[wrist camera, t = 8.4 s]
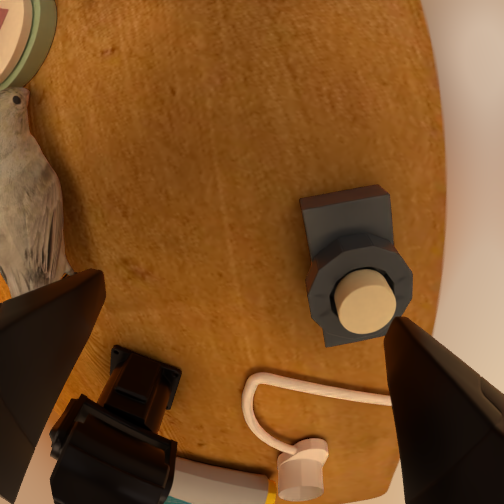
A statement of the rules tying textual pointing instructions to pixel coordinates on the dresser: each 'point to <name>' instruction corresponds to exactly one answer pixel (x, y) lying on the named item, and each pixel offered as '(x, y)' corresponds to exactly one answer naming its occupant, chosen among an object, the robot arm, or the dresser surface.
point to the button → (364, 301)
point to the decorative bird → (27, 203)
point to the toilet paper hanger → (306, 451)
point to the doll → (13, 33)
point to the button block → (351, 254)
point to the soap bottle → (219, 485)
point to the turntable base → (34, 44)
